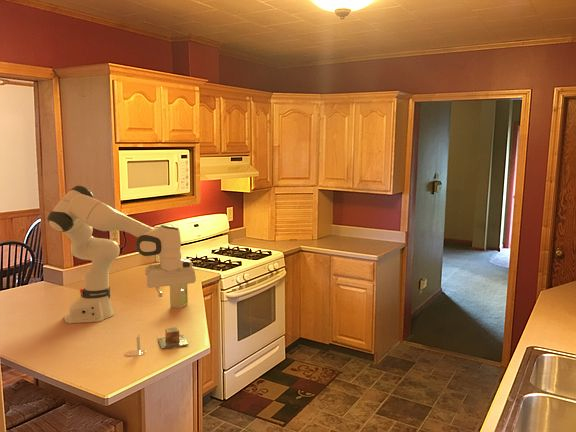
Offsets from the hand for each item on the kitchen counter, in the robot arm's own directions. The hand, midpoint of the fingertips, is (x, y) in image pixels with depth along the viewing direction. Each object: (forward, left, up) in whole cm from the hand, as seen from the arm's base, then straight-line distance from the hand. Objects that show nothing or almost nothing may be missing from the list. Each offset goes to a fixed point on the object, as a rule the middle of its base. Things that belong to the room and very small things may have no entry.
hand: (171, 295), depth 208 cm
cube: (0, 0, -20) cm, 20 cm away
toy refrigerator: (+12, +48, -21) cm, 54 cm away
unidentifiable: (-16, -5, -21) cm, 27 cm away
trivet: (0, 0, -21) cm, 21 cm away
